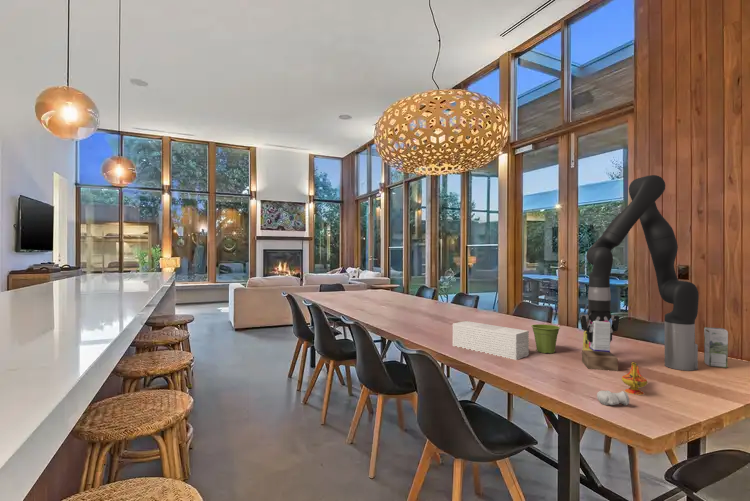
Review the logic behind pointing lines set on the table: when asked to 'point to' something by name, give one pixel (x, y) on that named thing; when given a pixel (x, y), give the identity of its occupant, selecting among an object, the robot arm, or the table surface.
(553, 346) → the plant pot
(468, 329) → the white textured block
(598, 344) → the supplement box
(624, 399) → the smooth white sculpture
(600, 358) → the block
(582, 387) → the table surface
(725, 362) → the syrup box
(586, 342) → the sauce bottle
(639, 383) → the magic lamp
